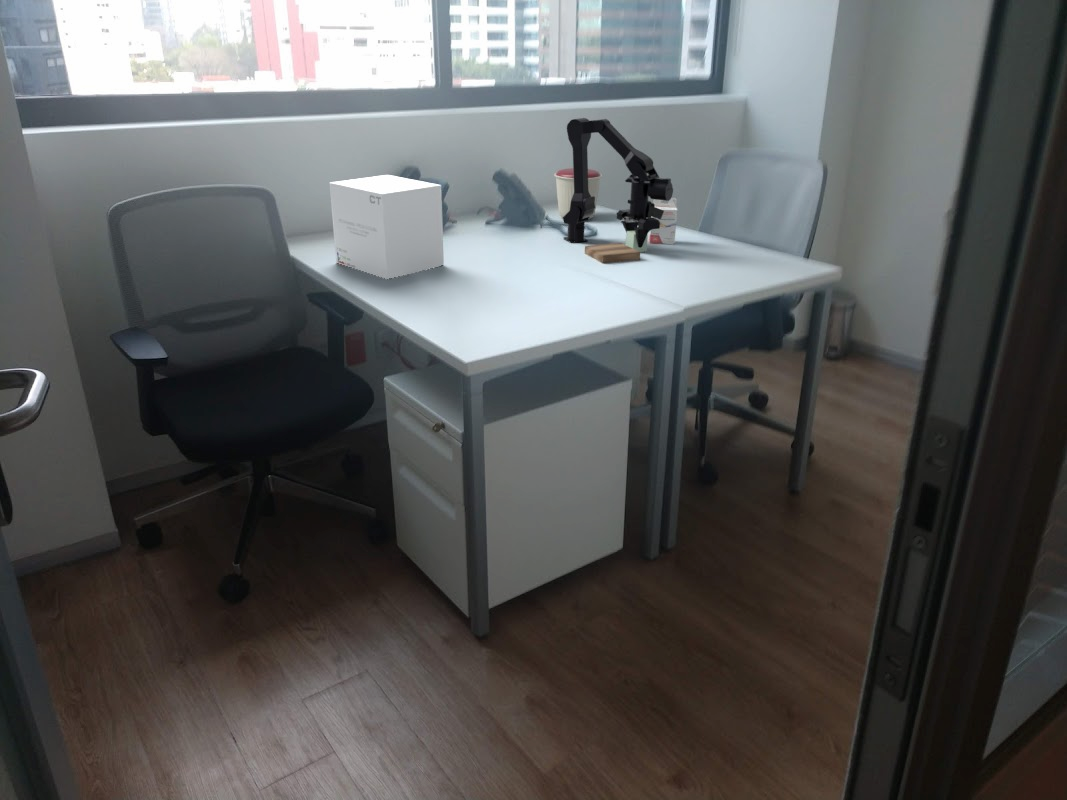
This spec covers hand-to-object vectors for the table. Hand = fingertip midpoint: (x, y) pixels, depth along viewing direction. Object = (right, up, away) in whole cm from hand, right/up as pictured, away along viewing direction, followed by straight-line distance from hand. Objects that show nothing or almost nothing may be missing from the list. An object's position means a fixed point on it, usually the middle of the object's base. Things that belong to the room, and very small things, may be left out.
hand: (636, 245), depth 266 cm
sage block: (0, -1, +1) cm, 2 cm away
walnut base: (-9, -5, -7) cm, 13 cm away
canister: (-17, +19, +45) cm, 52 cm away
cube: (-77, -10, -20) cm, 81 cm away
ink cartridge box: (+10, +3, +12) cm, 16 cm away
